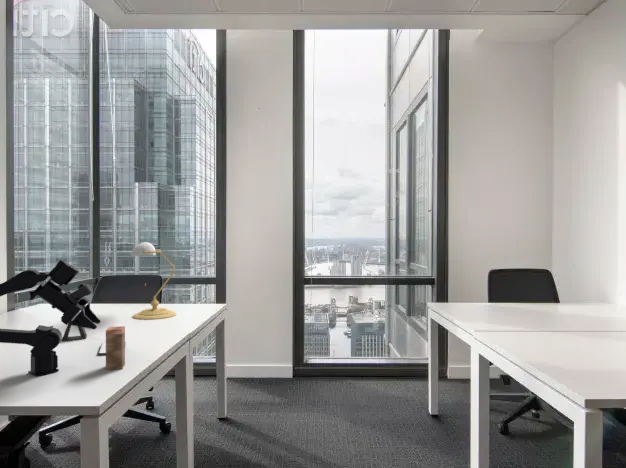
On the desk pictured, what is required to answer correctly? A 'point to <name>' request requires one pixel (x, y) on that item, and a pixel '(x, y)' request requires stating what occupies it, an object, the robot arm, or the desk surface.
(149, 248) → the desk lamp
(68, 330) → the phone stand
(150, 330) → the desk surface
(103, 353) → the phone case
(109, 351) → the wooden block
